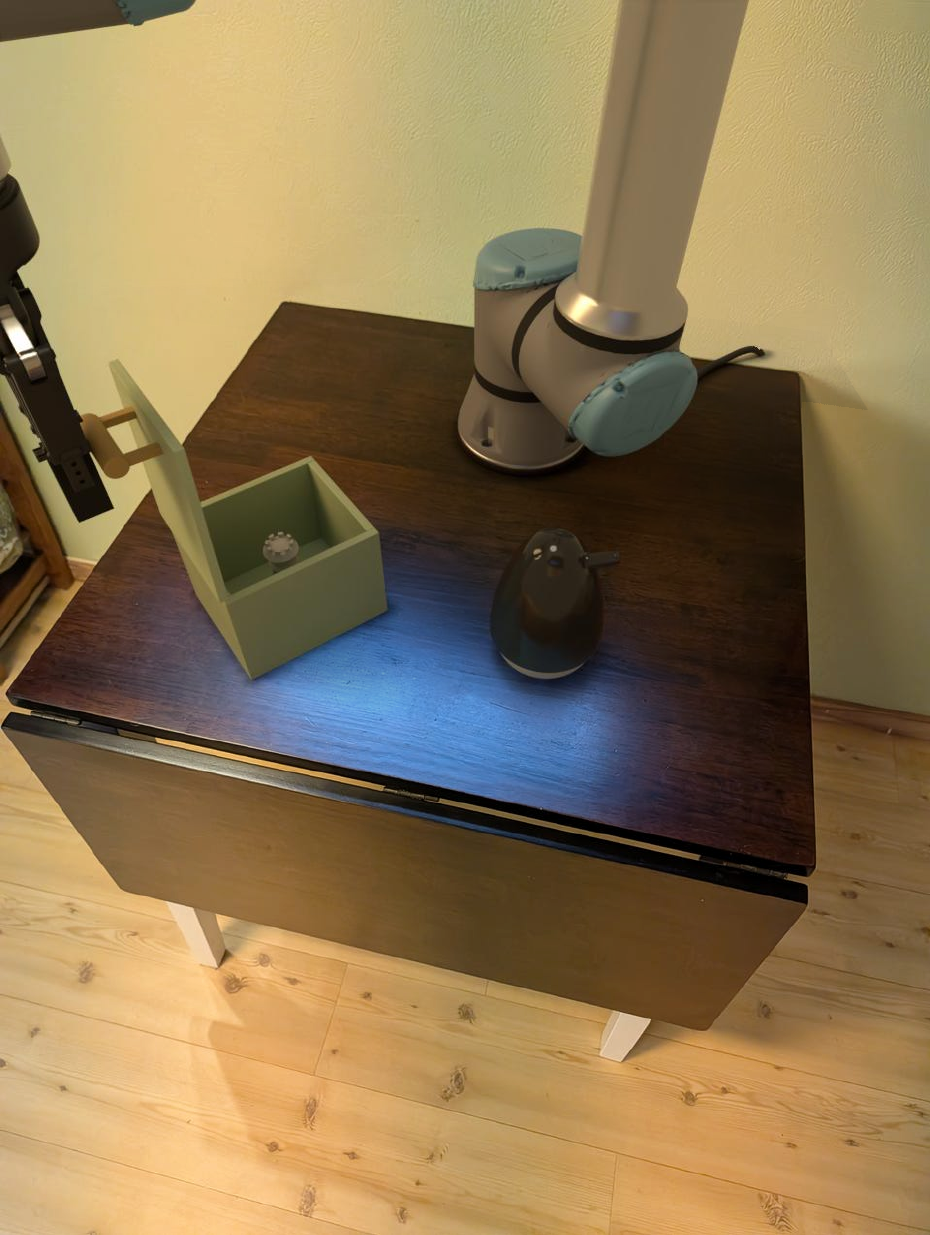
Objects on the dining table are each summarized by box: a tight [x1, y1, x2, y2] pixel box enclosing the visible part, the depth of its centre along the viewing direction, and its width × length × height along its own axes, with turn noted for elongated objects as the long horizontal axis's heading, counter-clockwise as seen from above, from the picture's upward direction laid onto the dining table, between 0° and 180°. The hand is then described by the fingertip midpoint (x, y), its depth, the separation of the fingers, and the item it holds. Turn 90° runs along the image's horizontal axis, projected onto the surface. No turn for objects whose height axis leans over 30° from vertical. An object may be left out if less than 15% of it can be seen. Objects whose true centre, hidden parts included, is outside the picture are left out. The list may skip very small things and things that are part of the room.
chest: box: [171, 455, 388, 681], centre depth 79 cm, size 15×13×11 cm
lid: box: [80, 358, 228, 603], centre depth 65 cm, size 16×13×5 cm
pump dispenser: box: [489, 526, 622, 680], centre depth 73 cm, size 10×10×15 cm
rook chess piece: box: [263, 532, 299, 575], centre depth 79 cm, size 4×4×8 cm
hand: (93, 509), depth 63 cm, fingers closed
